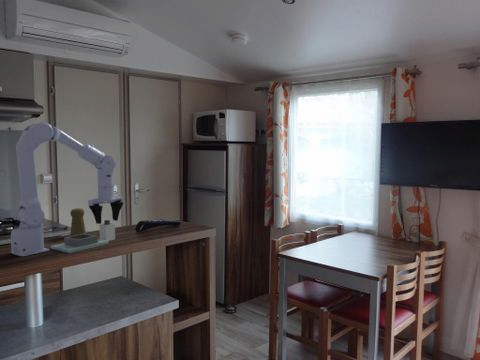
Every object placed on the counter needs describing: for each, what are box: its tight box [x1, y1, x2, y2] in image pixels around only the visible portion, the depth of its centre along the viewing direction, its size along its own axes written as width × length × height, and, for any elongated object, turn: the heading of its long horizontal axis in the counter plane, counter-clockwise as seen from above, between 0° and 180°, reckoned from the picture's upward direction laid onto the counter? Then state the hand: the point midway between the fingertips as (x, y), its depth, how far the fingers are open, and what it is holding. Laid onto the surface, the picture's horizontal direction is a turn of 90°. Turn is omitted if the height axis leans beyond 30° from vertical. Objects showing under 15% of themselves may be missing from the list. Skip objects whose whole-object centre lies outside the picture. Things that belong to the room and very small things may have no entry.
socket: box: [50, 233, 110, 254], centre depth 145 cm, size 16×11×4 cm
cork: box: [69, 207, 87, 236], centre depth 162 cm, size 6×6×11 cm
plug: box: [98, 219, 116, 242], centre depth 155 cm, size 4×4×8 cm
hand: (107, 221), depth 155 cm, fingers open, 7 cm apart
